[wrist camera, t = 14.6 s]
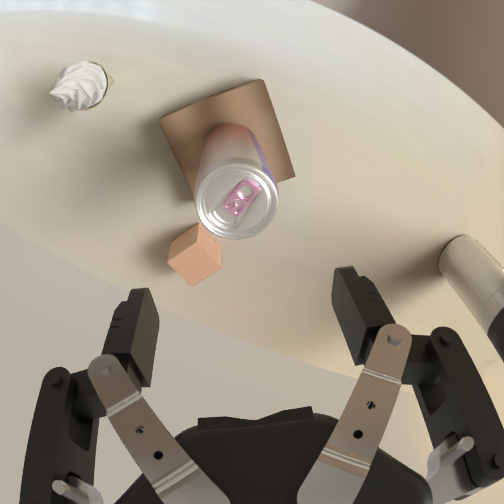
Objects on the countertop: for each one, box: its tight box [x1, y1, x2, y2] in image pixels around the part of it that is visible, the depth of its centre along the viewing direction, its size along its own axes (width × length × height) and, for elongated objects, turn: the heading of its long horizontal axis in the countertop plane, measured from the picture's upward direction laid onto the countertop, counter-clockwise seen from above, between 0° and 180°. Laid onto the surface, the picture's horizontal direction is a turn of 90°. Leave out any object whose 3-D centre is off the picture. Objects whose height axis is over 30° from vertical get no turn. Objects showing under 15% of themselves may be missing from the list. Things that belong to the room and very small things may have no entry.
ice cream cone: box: [49, 61, 114, 112], centre depth 23 cm, size 5×5×15 cm
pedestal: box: [159, 79, 296, 196], centre depth 34 cm, size 12×12×3 cm
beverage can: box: [194, 123, 278, 240], centre depth 27 cm, size 6×6×15 cm
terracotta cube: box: [167, 223, 222, 286], centre depth 41 cm, size 5×5×5 cm
